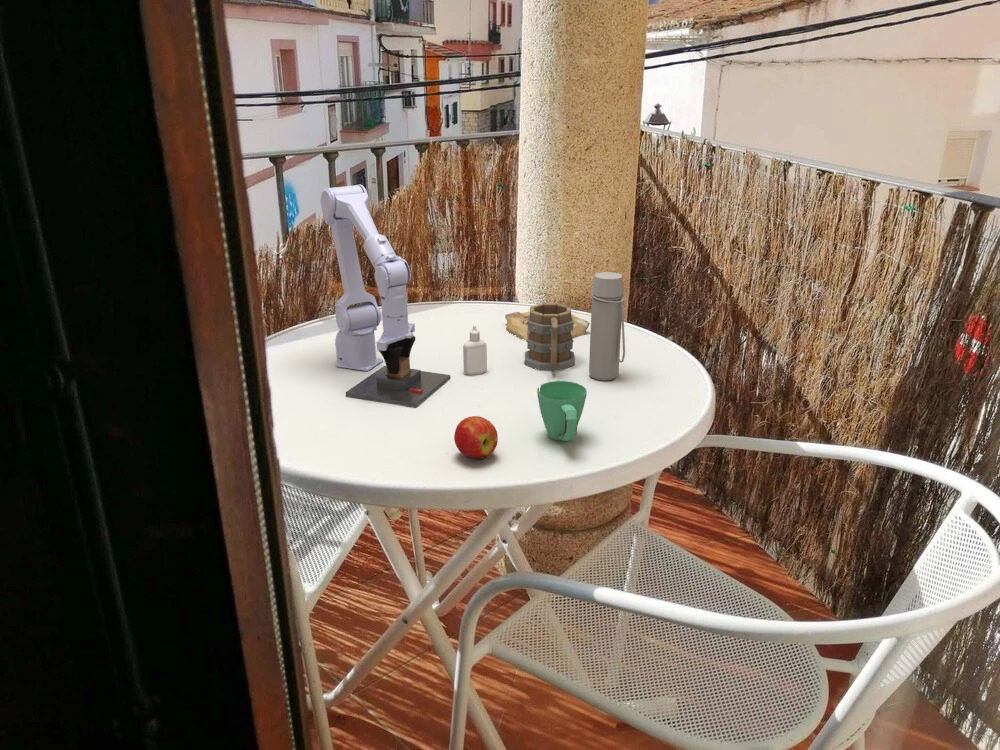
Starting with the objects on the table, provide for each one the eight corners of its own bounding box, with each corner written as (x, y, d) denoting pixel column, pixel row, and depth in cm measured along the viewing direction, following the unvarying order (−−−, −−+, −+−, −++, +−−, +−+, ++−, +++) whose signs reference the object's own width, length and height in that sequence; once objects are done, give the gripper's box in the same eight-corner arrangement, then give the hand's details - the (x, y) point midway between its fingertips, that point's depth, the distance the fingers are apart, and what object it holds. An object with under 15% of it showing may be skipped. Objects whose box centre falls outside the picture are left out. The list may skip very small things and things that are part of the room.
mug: (532, 426, 159) (532, 382, 155) (578, 423, 160) (579, 379, 156) (546, 459, 145) (547, 411, 141) (596, 455, 147) (598, 408, 143)
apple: (470, 470, 142) (469, 431, 139) (446, 453, 148) (445, 416, 145) (505, 458, 146) (504, 420, 143) (480, 442, 152) (479, 405, 149)
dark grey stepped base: (345, 396, 174) (344, 382, 173) (384, 369, 190) (383, 356, 188) (416, 407, 168) (415, 393, 167) (450, 378, 183) (449, 365, 182)
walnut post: (387, 384, 177) (385, 361, 175) (395, 378, 181) (394, 355, 179) (402, 386, 176) (401, 363, 174) (410, 380, 179) (409, 357, 177)
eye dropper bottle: (485, 376, 185) (484, 329, 181) (462, 375, 186) (461, 328, 181) (487, 369, 189) (487, 323, 185) (465, 368, 190) (464, 322, 185)
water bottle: (581, 377, 184) (585, 276, 175) (600, 368, 189) (605, 269, 180) (613, 386, 178) (618, 282, 169) (631, 377, 183) (638, 276, 174)
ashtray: (592, 344, 207) (592, 326, 205) (504, 344, 207) (504, 326, 206) (584, 317, 229) (584, 301, 227) (505, 317, 229) (505, 301, 228)
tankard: (524, 352, 200) (524, 297, 194) (572, 353, 200) (574, 297, 194) (524, 382, 181) (524, 321, 176) (577, 382, 181) (579, 322, 175)
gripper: (395, 325, 164) (398, 383, 169) (425, 306, 177) (427, 361, 182) (366, 321, 167) (371, 379, 172) (398, 304, 179) (401, 358, 184)
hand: (398, 370), depth 177 cm, fingers closed on walnut post, 4 cm apart
